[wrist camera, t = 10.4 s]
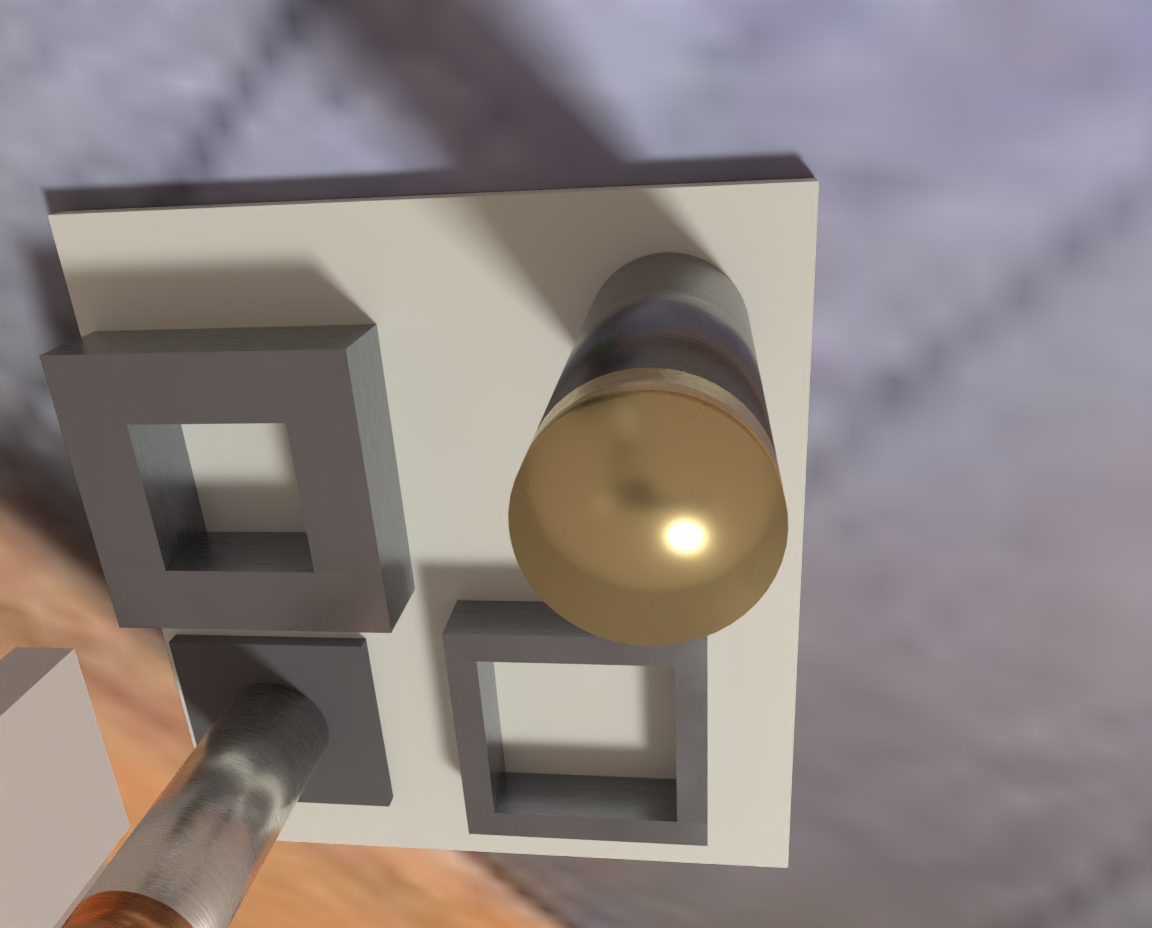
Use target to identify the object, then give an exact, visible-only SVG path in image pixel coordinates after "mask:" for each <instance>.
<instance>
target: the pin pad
mask: <svg viewBox="0 0 1152 928" xmlns="http://www.w3.org/2000/svg"><path fill="white" fill-rule="evenodd" d="M169 646H170V649H171V653H172V657H173V660H174V664H175V668H176V671H177V675H178V679H179V682H180V686H181V690H182V693H183V697H184V701H185V704H186V708H187V712H188V715H189V719H190V723H191V726H192V730H193V734H194V737H195V741H196V745H198V744H199V742H200V741H201V739H202V738H203V737H204V735H205V734H206V733H207V731H208V730H209V729H210V727H211V726H212V725H213V723H214V722H215V721H216V719H217V718H218V717H219V715H220V714H221V713H222V711H223V710H224V709H225V707H226V706H227V705H228V703H229V702H230V701H231V699H232V698H233V697H234V695H235V694H236V693H238V692H239V691H240V690H242V689H243V688H245V687H247V686H250V685H253V684H258V683H275V684H281V685H284V686H288V687H290V688H293V689H295V690H297V691H299V692H300V693H302V694H304V695H305V696H306V697H308V698H309V699H310V700H311V701H312V702H313V703H314V704H315V705H316V706H317V707H318V708H319V710H320V711H321V712H322V714H323V716H324V718H325V720H326V722H327V726H328V730H329V741H328V745H327V748H326V750H325V752H324V754H323V756H322V757H321V759H320V761H319V763H318V765H317V766H316V768H315V770H314V772H313V774H312V776H311V777H310V779H309V781H308V783H307V785H306V786H305V788H304V790H303V792H302V794H301V796H300V797H299V799H298V801H297V802H304V803H325V804H346V805H367V806H388V807H389V806H390V804H391V801H392V799H393V792H392V786H391V780H390V774H389V768H388V763H387V757H386V751H385V745H384V740H383V734H382V728H381V722H380V716H379V711H378V705H377V699H376V693H375V688H374V682H373V676H372V670H371V664H370V659H369V653H368V647H367V641H366V639H364V638H319V637H274V636H229V635H184V634H176V635H175V636H174V637H173V638H172V639H171V640H170V641H169Z"/></svg>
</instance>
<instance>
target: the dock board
mask: <svg viewBox="0 0 1152 928" xmlns="http://www.w3.org/2000/svg"><path fill="white" fill-rule="evenodd" d="M818 191H819V181H818V180H817V179H816V178H798V179H776V180H753V181H731V182H708V183H686V184H663V185H641V186H618V187H596V188H573V189H551V190H528V191H506V192H483V193H461V194H438V195H416V196H393V197H371V198H348V199H326V200H303V201H281V202H258V203H236V204H213V205H191V206H168V207H146V208H123V209H101V210H78V211H63V212H59V213H54V214H50V215H48V218H49V222H50V226H51V229H52V233H53V237H54V240H55V244H56V247H57V251H58V255H59V258H60V262H61V266H62V269H63V273H64V277H65V280H66V284H67V287H68V291H69V295H70V298H71V302H72V306H73V309H74V313H75V317H76V320H77V324H78V327H79V331H80V335H81V337H83V336H85V335H87V334H90V333H92V332H94V331H124V330H164V329H203V328H243V327H282V326H322V325H361V324H377V329H378V336H379V343H380V350H381V357H382V364H383V371H384V378H385V385H386V392H387V399H388V406H389V412H390V419H391V426H392V433H393V440H394V447H395V454H396V461H397V468H398V475H399V482H400V488H401V495H402V502H403V509H404V516H405V523H406V530H407V537H408V544H409V551H410V558H411V565H412V571H413V578H414V585H415V590H414V592H413V594H412V596H411V597H410V599H409V601H408V603H407V605H406V607H405V609H404V610H403V612H402V614H401V616H400V618H399V620H398V622H397V623H396V625H395V627H394V629H393V631H392V633H362V632H315V631H268V630H221V629H174V628H161V629H162V633H163V636H164V640H165V644H166V647H167V651H168V655H169V658H170V662H171V665H172V669H173V673H174V676H175V680H176V684H177V687H178V691H179V695H180V698H181V702H182V705H183V709H184V713H185V716H186V720H187V724H188V727H189V731H190V735H191V738H192V742H193V745H194V749H195V748H196V746H197V745H196V741H195V737H194V734H193V730H192V726H191V723H190V719H189V715H188V712H187V708H186V704H185V701H184V697H183V693H182V690H181V686H180V682H179V679H178V675H177V671H176V668H175V664H174V660H173V657H172V653H171V649H170V646H169V641H170V640H171V639H172V638H173V637H174V636H175V635H176V634H184V635H229V636H274V637H319V638H364V639H366V641H367V647H368V653H369V659H370V664H371V670H372V676H373V682H374V688H375V693H376V699H377V705H378V711H379V716H380V722H381V728H382V734H383V740H384V745H385V751H386V757H387V763H388V768H389V774H390V780H391V786H392V792H393V799H392V801H391V804H390V806H389V807H388V806H367V805H346V804H325V803H304V802H297V803H296V805H295V806H294V808H293V810H292V812H291V814H290V816H289V817H288V819H287V821H286V823H285V825H284V826H283V828H282V830H281V832H280V834H279V836H278V837H277V839H276V840H277V841H295V842H314V843H333V844H351V845H370V846H389V847H407V848H426V849H445V850H463V851H482V852H501V853H519V854H538V855H557V856H575V857H594V858H613V859H632V860H650V861H669V862H688V863H706V864H725V865H744V866H762V867H781V868H788V852H789V830H790V808H791V786H792V764H793V742H794V720H795V698H796V676H797V653H798V631H799V609H800V587H801V565H802V543H803V521H804V499H805V477H806V455H807V433H808V411H809V389H810V367H811V345H812V323H813V301H814V279H815V257H816V235H817V213H818ZM664 252H673V253H682V254H688V255H692V256H695V257H698V258H700V259H703V260H705V261H707V262H709V263H711V264H712V265H714V266H715V267H717V268H718V269H720V270H721V271H722V272H723V273H724V274H725V275H727V277H728V278H729V279H730V280H731V281H732V282H733V283H734V285H735V286H736V288H737V289H738V291H739V292H740V294H741V296H742V298H743V300H744V303H745V306H746V309H747V312H748V317H749V322H750V327H751V331H752V336H753V341H754V346H755V351H756V356H757V361H758V366H759V371H760V376H761V381H762V386H763V391H764V396H765V401H766V406H767V411H768V416H769V421H770V426H771V431H772V436H773V441H774V446H775V451H776V456H777V461H778V466H779V471H780V476H781V481H782V486H783V491H784V496H785V501H786V506H787V512H788V537H787V546H786V550H785V553H784V557H783V561H782V563H781V566H780V568H779V570H778V573H777V575H776V577H775V579H774V580H773V582H772V584H771V585H770V587H769V589H768V590H767V592H766V593H765V594H764V595H763V596H762V598H761V599H760V600H759V601H758V602H757V604H756V605H754V606H753V607H752V608H751V609H750V610H749V611H748V612H747V613H746V614H745V615H743V616H742V617H741V618H739V619H738V620H736V621H735V622H734V623H732V624H731V625H729V626H727V627H725V628H723V629H721V630H720V631H718V632H716V633H713V634H711V635H708V636H707V662H708V846H696V845H677V844H657V843H637V842H618V841H598V840H579V839H559V838H539V837H520V836H500V835H481V834H469V831H468V823H467V816H466V808H465V801H464V794H463V786H462V779H461V771H460V764H459V756H458V749H457V741H456V734H455V727H454V719H453V712H452V704H451V697H450V689H449V682H448V674H447V667H446V660H445V652H444V645H443V637H442V633H443V631H444V629H445V626H446V624H447V622H448V620H449V618H450V615H451V613H452V611H453V609H454V606H455V604H456V602H457V600H484V601H543V600H542V599H541V598H540V597H539V595H538V594H537V593H536V592H535V591H534V589H533V588H532V587H531V585H530V584H529V582H528V581H527V579H526V578H525V576H524V575H523V573H522V571H521V568H520V566H519V564H518V562H517V560H516V557H515V554H514V551H513V548H512V544H511V539H510V533H509V522H508V510H509V502H510V495H511V491H512V488H513V484H514V480H515V478H516V476H517V474H518V471H519V469H520V467H521V465H522V462H523V460H524V458H525V455H526V453H527V451H528V449H529V446H530V444H531V442H532V440H533V437H534V435H535V433H536V430H537V428H538V426H539V424H540V421H541V419H542V417H543V415H544V412H545V410H546V408H547V406H548V403H549V401H550V399H551V396H552V394H553V392H554V390H555V387H556V385H557V383H558V381H559V378H560V376H561V374H562V371H563V369H564V367H565V365H566V362H567V360H568V358H569V356H570V353H571V351H572V349H573V346H574V344H575V342H576V340H577V337H578V335H579V333H580V331H581V328H582V326H583V324H584V322H585V319H586V317H587V315H588V312H589V310H590V308H591V306H592V303H593V301H594V299H595V297H596V295H597V293H598V291H599V290H600V288H601V287H602V285H603V284H604V283H605V282H606V280H607V279H608V278H609V277H610V276H611V275H612V274H613V273H614V272H616V271H617V270H618V269H620V268H621V267H622V266H624V265H625V264H627V263H629V262H631V261H633V260H635V259H638V258H640V257H643V256H646V255H650V254H655V253H664ZM181 426H182V430H183V435H184V439H185V443H186V447H187V451H188V455H189V459H190V464H191V468H192V472H193V476H194V480H195V484H196V489H197V493H198V497H199V501H200V505H201V509H202V514H203V518H204V522H205V526H206V530H207V532H307V531H306V526H305V521H304V516H303V511H302V505H301V500H300V495H299V490H298V485H297V480H296V474H295V469H294V464H293V459H292V454H291V448H290V443H289V438H288V433H287V428H286V423H251V424H181ZM494 670H495V679H496V688H497V698H498V707H499V716H500V725H501V734H502V743H503V752H504V761H505V770H506V772H518V773H542V774H566V775H590V776H614V777H638V778H662V779H676V725H675V668H674V667H671V666H631V665H592V664H552V663H513V662H494Z"/></svg>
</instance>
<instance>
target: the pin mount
mask: <svg viewBox="0 0 1152 928" xmlns="http://www.w3.org/2000/svg"><path fill="white" fill-rule="evenodd" d="M40 360H41V363H42V366H43V370H44V373H45V377H46V380H47V383H48V387H49V390H50V393H51V397H52V400H53V404H54V407H55V410H56V414H57V417H58V421H59V424H60V427H61V431H62V434H63V437H64V441H65V444H66V448H67V451H68V454H69V458H70V461H71V464H72V468H73V471H74V475H75V478H76V481H77V485H78V488H79V492H80V495H81V498H82V502H83V505H84V508H85V512H86V515H87V519H88V522H89V525H90V529H91V532H92V535H93V539H94V542H95V546H96V549H97V552H98V556H99V559H100V562H101V566H102V569H103V573H104V576H105V579H106V583H107V586H108V590H109V593H110V596H111V600H112V603H113V606H114V610H115V613H116V617H117V620H118V623H119V627H128V628H174V629H221V630H268V631H315V632H362V633H392V631H393V629H394V627H395V625H396V623H397V622H398V620H399V618H400V616H401V614H402V612H403V610H404V609H405V607H406V605H407V603H408V601H409V599H410V597H411V596H412V594H413V592H414V590H415V585H414V578H413V571H412V565H411V558H410V551H409V544H408V537H407V530H406V523H405V516H404V509H403V502H402V495H401V488H400V482H399V475H398V468H397V461H396V454H395V447H394V440H393V433H392V426H391V419H390V412H389V406H388V399H387V392H386V385H385V378H384V371H383V364H382V357H381V350H380V343H379V336H378V329H377V324H361V325H322V326H282V327H243V328H203V329H164V330H124V331H94V332H92V333H90V334H87V335H85V336H83V337H80V338H78V339H76V340H74V341H71V342H69V343H67V344H65V345H62V346H60V347H58V348H56V349H53V350H51V351H49V352H47V353H44V354H42V355H40ZM251 423H286V428H287V433H288V438H289V443H290V448H291V454H292V459H293V464H294V469H295V474H296V480H297V485H298V490H299V495H300V500H301V505H302V511H303V516H304V521H305V526H306V531H307V532H207V530H206V526H205V522H204V518H203V514H202V509H201V505H200V501H199V497H198V493H197V489H196V484H195V480H194V476H193V472H192V468H191V464H190V459H189V455H188V451H187V447H186V443H185V439H184V435H183V430H182V426H181V424H251Z"/></svg>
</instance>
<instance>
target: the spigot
mask: <svg viewBox="0 0 1152 928" xmlns="http://www.w3.org/2000/svg"><path fill="white" fill-rule="evenodd" d="M508 522H509V533H510V539H511V544H512V548H513V551H514V554H515V557H516V560H517V562H518V564H519V566H520V568H521V571H522V573H523V575H524V576H525V578H526V579H527V581H528V582H529V584H530V585H531V587H532V588H533V589H534V591H535V592H536V593H537V594H538V595H539V597H540V598H541V599H542V600H543V601H544V602H545V603H546V604H547V605H548V606H549V607H550V608H551V609H552V610H554V611H555V612H556V613H557V614H559V615H560V616H561V617H563V618H564V619H566V620H567V621H568V622H570V623H572V624H574V625H575V626H577V627H579V628H581V629H582V630H584V631H587V632H589V633H591V634H594V635H596V636H598V637H602V638H605V639H608V640H611V641H615V642H620V643H625V644H630V645H641V646H667V645H674V644H681V643H686V642H690V641H693V640H697V639H701V638H703V637H706V636H708V635H711V634H713V633H716V632H718V631H720V630H721V629H723V628H725V627H727V626H729V625H731V624H732V623H734V622H735V621H736V620H738V619H739V618H741V617H742V616H743V615H745V614H746V613H747V612H748V611H749V610H750V609H751V608H752V607H753V606H754V605H756V604H757V602H758V601H759V600H760V599H761V598H762V596H763V595H764V594H765V593H766V592H767V590H768V589H769V587H770V585H771V584H772V582H773V580H774V579H775V577H776V575H777V573H778V570H779V568H780V566H781V563H782V561H783V557H784V553H785V550H786V546H787V537H788V512H787V506H786V501H785V496H784V491H783V486H782V481H781V476H780V471H779V466H778V461H777V456H776V451H775V446H774V441H773V436H772V431H771V426H770V421H769V416H768V411H767V406H766V401H765V396H764V391H763V386H762V381H761V376H760V371H759V366H758V361H757V356H756V351H755V346H754V341H753V336H752V331H751V327H750V322H749V317H748V312H747V309H746V306H745V303H744V300H743V298H742V296H741V294H740V292H739V291H738V289H737V288H736V286H735V285H734V283H733V282H732V281H731V280H730V279H729V278H728V277H727V275H725V274H724V273H723V272H722V271H721V270H720V269H718V268H717V267H715V266H714V265H712V264H711V263H709V262H707V261H705V260H703V259H700V258H698V257H695V256H692V255H688V254H682V253H673V252H664V253H655V254H650V255H646V256H643V257H640V258H638V259H635V260H633V261H631V262H629V263H627V264H625V265H624V266H622V267H621V268H620V269H618V270H617V271H616V272H614V273H613V274H612V275H611V276H610V277H609V278H608V279H607V280H606V282H605V283H604V284H603V285H602V287H601V288H600V290H599V291H598V293H597V295H596V297H595V299H594V301H593V303H592V306H591V308H590V310H589V312H588V315H587V317H586V319H585V322H584V324H583V326H582V328H581V331H580V333H579V335H578V337H577V340H576V342H575V344H574V346H573V349H572V351H571V353H570V356H569V358H568V360H567V362H566V365H565V367H564V369H563V371H562V374H561V376H560V378H559V381H558V383H557V385H556V387H555V390H554V392H553V394H552V396H551V399H550V401H549V403H548V406H547V408H546V410H545V412H544V415H543V417H542V419H541V421H540V424H539V426H538V428H537V430H536V433H535V435H534V437H533V440H532V442H531V444H530V446H529V449H528V451H527V453H526V455H525V458H524V460H523V462H522V465H521V467H520V469H519V471H518V474H517V476H516V478H515V480H514V484H513V488H512V491H511V495H510V502H509V510H508Z"/></svg>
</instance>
